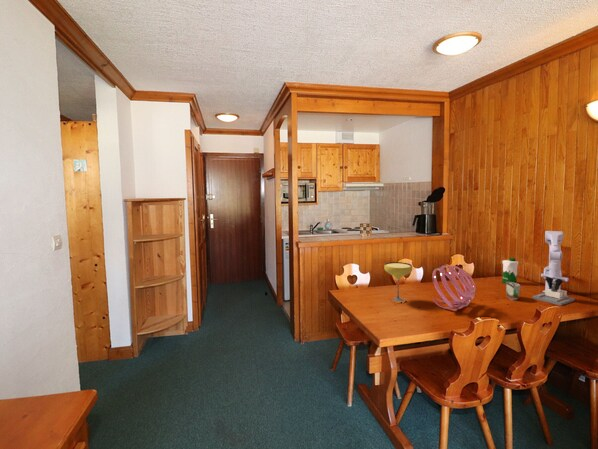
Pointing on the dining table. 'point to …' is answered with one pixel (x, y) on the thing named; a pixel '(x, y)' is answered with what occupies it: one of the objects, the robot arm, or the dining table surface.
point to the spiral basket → (460, 301)
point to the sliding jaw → (554, 292)
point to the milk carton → (510, 270)
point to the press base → (553, 299)
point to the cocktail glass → (398, 272)
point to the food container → (512, 290)
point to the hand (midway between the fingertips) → (553, 289)
